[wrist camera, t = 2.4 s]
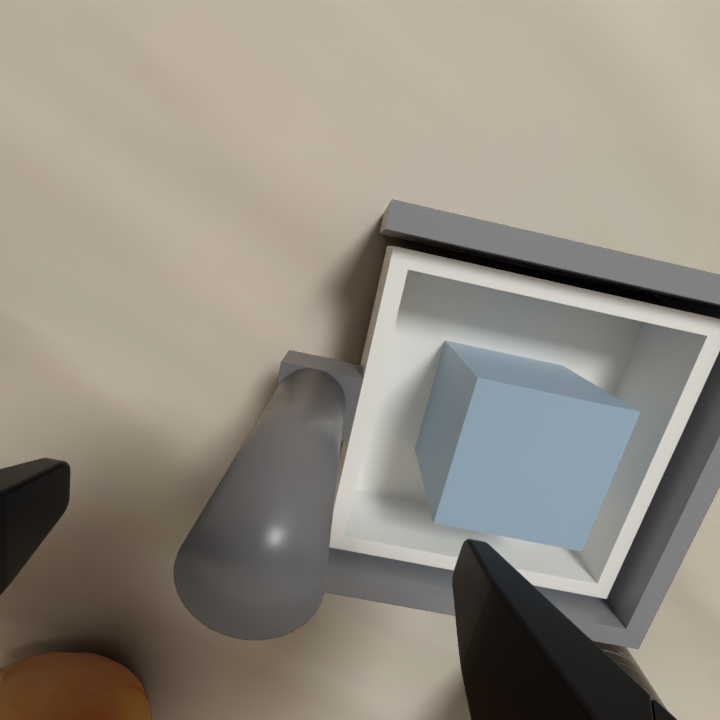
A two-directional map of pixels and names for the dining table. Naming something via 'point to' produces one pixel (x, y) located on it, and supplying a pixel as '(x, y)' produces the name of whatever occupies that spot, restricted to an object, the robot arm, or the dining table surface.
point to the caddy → (400, 434)
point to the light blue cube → (519, 446)
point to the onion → (71, 689)
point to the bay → (677, 486)
